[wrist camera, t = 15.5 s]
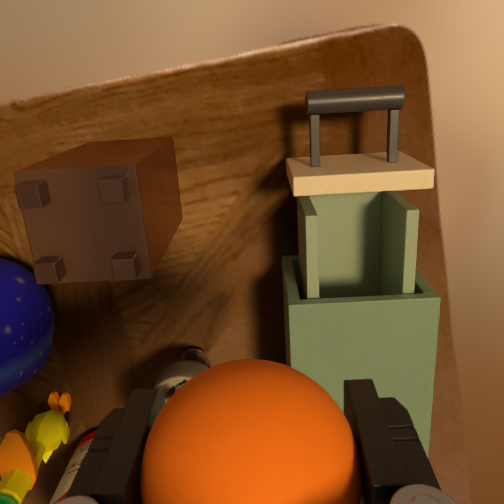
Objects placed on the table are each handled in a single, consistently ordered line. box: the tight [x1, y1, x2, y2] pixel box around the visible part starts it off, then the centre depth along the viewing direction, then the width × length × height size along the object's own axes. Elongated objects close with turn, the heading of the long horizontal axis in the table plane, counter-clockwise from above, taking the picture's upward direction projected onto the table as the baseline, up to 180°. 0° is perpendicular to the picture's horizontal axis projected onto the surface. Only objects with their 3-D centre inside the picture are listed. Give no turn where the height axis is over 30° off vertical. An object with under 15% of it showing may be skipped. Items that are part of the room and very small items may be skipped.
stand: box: [14, 137, 182, 284], centre depth 31 cm, size 6×6×13 cm
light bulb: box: [153, 349, 210, 404], centre depth 35 cm, size 6×6×15 cm
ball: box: [140, 359, 362, 504], centre depth 11 cm, size 5×5×5 cm
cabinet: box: [282, 255, 441, 457], centre depth 37 cm, size 14×10×9 cm
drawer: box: [286, 85, 434, 300], centre depth 33 cm, size 17×8×7 cm, turn 3°
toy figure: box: [0, 391, 71, 504], centre depth 39 cm, size 7×4×12 cm, turn 178°
